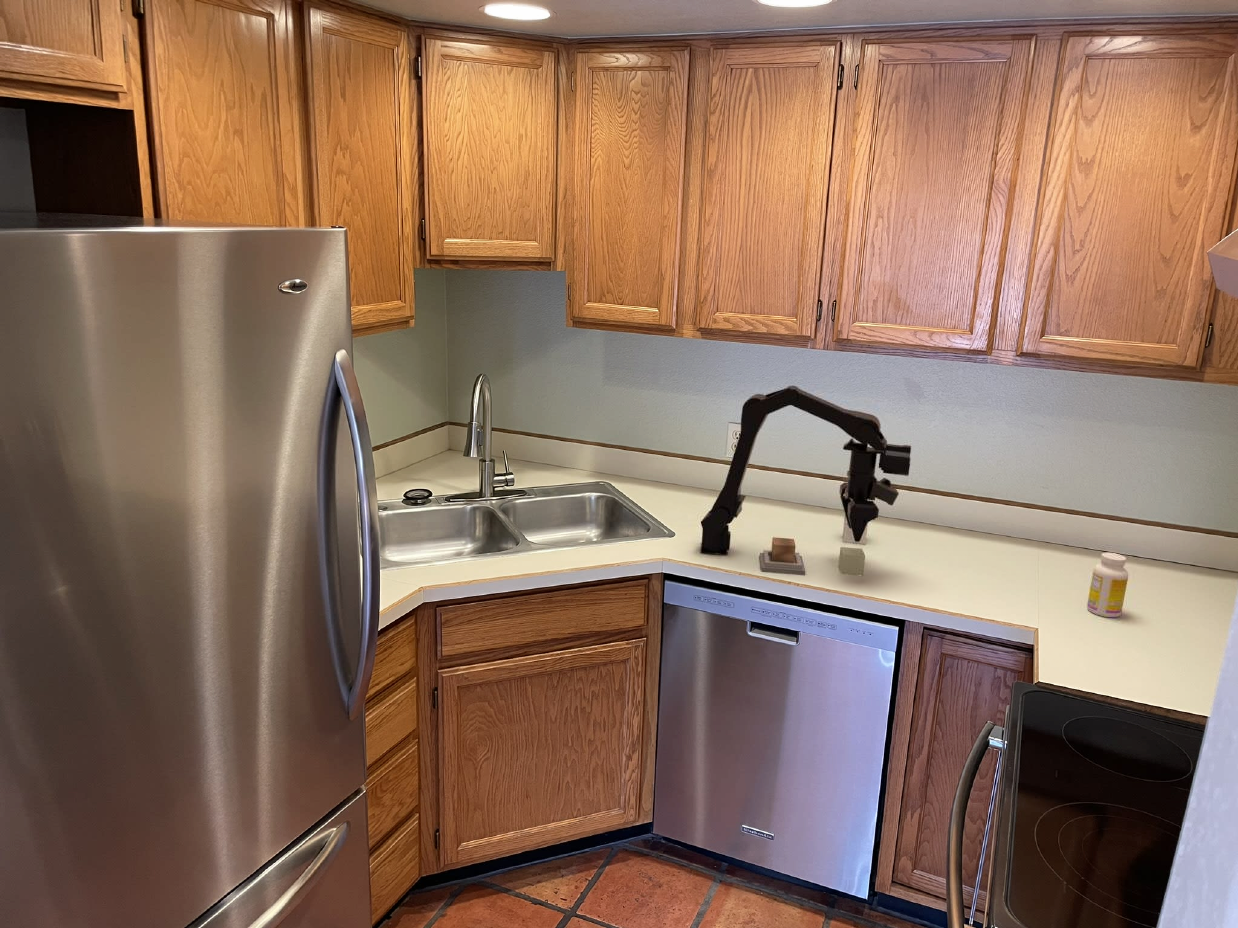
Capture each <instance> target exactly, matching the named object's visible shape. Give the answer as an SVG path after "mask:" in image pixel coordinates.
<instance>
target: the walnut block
mask: <svg viewBox="0 0 1238 928" xmlns="http://www.w3.org/2000/svg"><path fill="white" fill-rule="evenodd" d="M795 541H796V540H795V539H794V538H786V537H775V536H774V537H773V536H772V543H771V550H770V551H771V561H772V562H784V563H794V557H795V552H796V546H797V545H796V543H795Z"/></svg>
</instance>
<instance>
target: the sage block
mask: <svg viewBox="0 0 1238 928" xmlns="http://www.w3.org/2000/svg"><path fill="white" fill-rule="evenodd" d="M865 561H866V555H865V552H864V549H863V548H859V547H847V546H846V547H845V546H840V549H839V559H838V565H837V567H838V569H839V572H840V574H841V575H847V576H858V575H862V576H861V577H863V576H864V570H865V569H864V568H865Z"/></svg>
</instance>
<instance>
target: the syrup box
mask: <svg viewBox="0 0 1238 928" xmlns="http://www.w3.org/2000/svg"><path fill="white" fill-rule="evenodd" d="M867 501H871V500H869V499H867ZM868 524H869V523H868ZM868 524H867V526H866V528H865V530H864V533H863V535H862V537H861V540H860V542H855V540H854V536H853V533H852V529H850V528H849V526H848V523H847V519H846V515H845V514H844V520H843V529H842V530H843V531H842V538H843V539H842V541H843V542H844V543H850V544H856V545H857V544H859V545H866V543H867V535H868V534H867V533H868Z"/></svg>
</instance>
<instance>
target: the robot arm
mask: <svg viewBox="0 0 1238 928" xmlns="http://www.w3.org/2000/svg"><path fill="white" fill-rule="evenodd" d="M788 406H792V407H794V408H797V409H799V410H801V411H802V412H805V413H808V414H810V415H812V416H815V417H816V418H819V419H821V420H824V421H826V422H828V423H830V424H832V425H834V426H837V427H838V428H839V429H841V430H842V431H843V432H845V433H846V434H847V435H848V436H849V437H851V438H850V439H849V440H848V441H847V442H846V443H844V445H843V447H842V449H843V450H845V451H850V458H849V459H850V460H849V465H848V466H849V468H848V470H846V476H847V482H846V481H845V482H843V483H842V484H840V485H839V495H840V502H841V505H842V508H843V512H844V516H845V515H846V519H847V523H848V526H849V528H850V529H852V533H853V536H854V540H855V542H860V540H861V537H862V535H863V533H864V530H865V528H866V526H867V524H869V523H870V522H871V521H875V520H876V519H878V518H879V513H880V509H879V507H878V506H877V504H876V503H875V502H874V501H876V499H877V500H880V501H882V502H885V503H886V504H887V505H889V506H893V505H894V503H895V502H896V500H897V498H898V496H899V491H898V490H897V489H896V488H895V487H894V486H892V482H891V480H890V479H889V478H886V477H883V478H881V479H880V480H878V479H877V477H876V476H875V473H876V467H877V458H878V457H877V456H878V455H879V460H878V469H880V471H882V473H883V474H889V475H896V476H897V475H898V476H904V477H905V476H906V477H909V474H910V467H911V452H912V445H908V444H904V445H901V444H892V443H888V441H887V438H886V437H885V436H884V434H883V432H882V431H881V423H880V420H879V418H878V417H877V416H875V415H873V414H870V413H867V412H863V411H858V410H853V409H846V408H844V407H841V406H839V405H837V404H834V403H832V402H830V401H827V400H826V399H823V398H822V397H819V396H817V395H814V394H812V393H809V392H807V391H805V390H802V388H800V387H798V386H795V385H788V386H787V387H785V388H783V389H779V390H776V391H773V392H770V393H767V394H764V393H763V394H762V393H756V394H754V395H752V396H750V397H749V398H748V399H747V400H746V401H745V402H744V403H743V405H742V409H741V417H740V433H739V437H738V440H737V442H736V443H737V444H736V445H735V448H734V453H733V456H732V460H731V463H730V466H729V468H728V469H729V470H728V472H727V476H726V478H725V481H724V485H723V487H722V489H721V490H720V492H719V494H718V496H717V498H716V500H715V501H714V503H713V506H712V508H711V509H710V510H709V511H708V512H707V513H706V514H705V516H703V518H702V519H701V520H700V525H701V528H702V531H701V533H702V534H701V535H702V536H701V542H700V553H701V554H709V555H710V554H711V555H724V556H725V555H726V556H727V555H728V551H730V549H731V548H730V545H731V538H732V537H731V536H732V535H731V531H730V528H729V524H731V523H732V522H733V520H734V519H737V518H738V516H739V515H740V513H741V512H742V511H743V503H744V501H745V499H746V497H747V496H746V495H744V494H742V493H741V492H742V485H743V481H744V478H745V475H746V472H747V470H748V469H747V468H748V465H749V463H750V459H751V456H752V452H753V449H754V446H755V443H756V440H757V436H758V434H759V432H760V431H761V429H762V427H763V426H764V424H765V422H766V420H767V418H768V416H769V415H770V414H772V413H775V412H777V411H779V410H781V409H784V408H786V407H788ZM867 499H869V500H870V501H867ZM867 527H868V526H867Z"/></svg>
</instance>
